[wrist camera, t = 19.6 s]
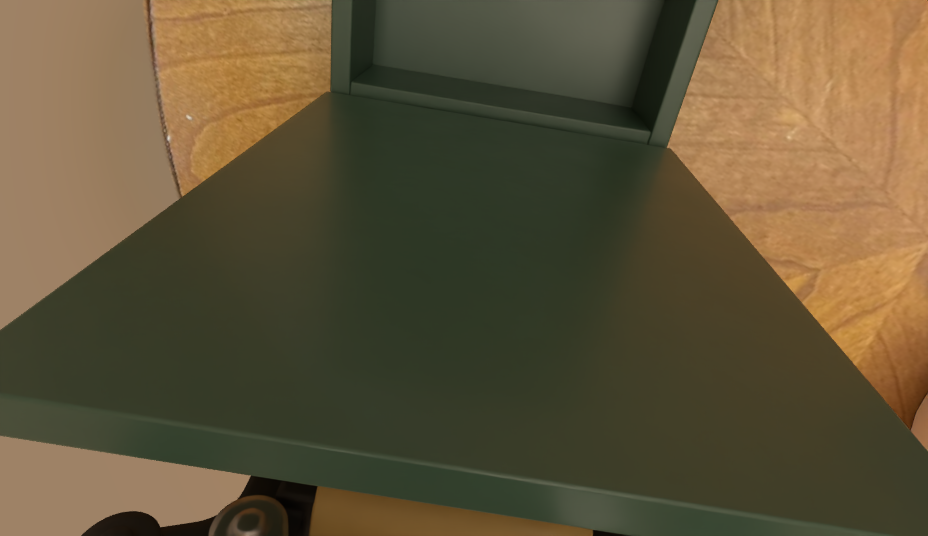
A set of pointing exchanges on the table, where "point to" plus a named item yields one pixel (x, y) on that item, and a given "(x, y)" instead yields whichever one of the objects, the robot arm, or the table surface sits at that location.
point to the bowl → (921, 423)
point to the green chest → (526, 60)
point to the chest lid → (467, 343)
